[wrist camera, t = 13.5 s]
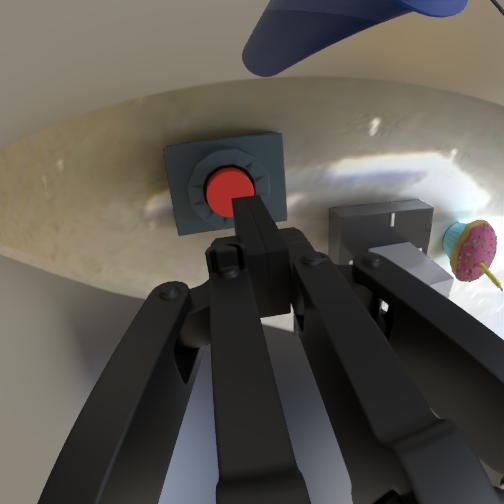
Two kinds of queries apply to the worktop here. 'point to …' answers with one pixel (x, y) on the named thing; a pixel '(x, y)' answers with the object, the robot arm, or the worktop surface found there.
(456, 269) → the cupcake
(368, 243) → the plate
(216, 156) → the button box
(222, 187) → the button
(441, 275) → the hob knob
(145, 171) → the worktop surface
